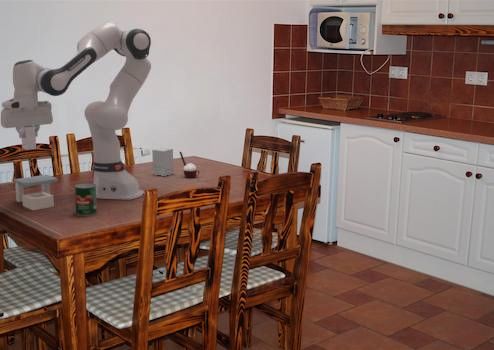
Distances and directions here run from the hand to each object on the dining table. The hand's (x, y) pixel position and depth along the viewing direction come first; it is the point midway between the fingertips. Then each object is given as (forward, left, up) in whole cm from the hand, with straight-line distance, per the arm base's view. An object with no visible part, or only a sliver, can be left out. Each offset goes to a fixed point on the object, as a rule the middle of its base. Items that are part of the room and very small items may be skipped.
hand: (28, 137), depth 262 cm
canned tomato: (-29, +6, -27) cm, 40 cm away
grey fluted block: (-26, -67, -27) cm, 77 cm away
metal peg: (0, 0, -5) cm, 5 cm away
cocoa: (-40, -67, -27) cm, 83 cm away
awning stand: (-3, -1, -27) cm, 27 cm away
